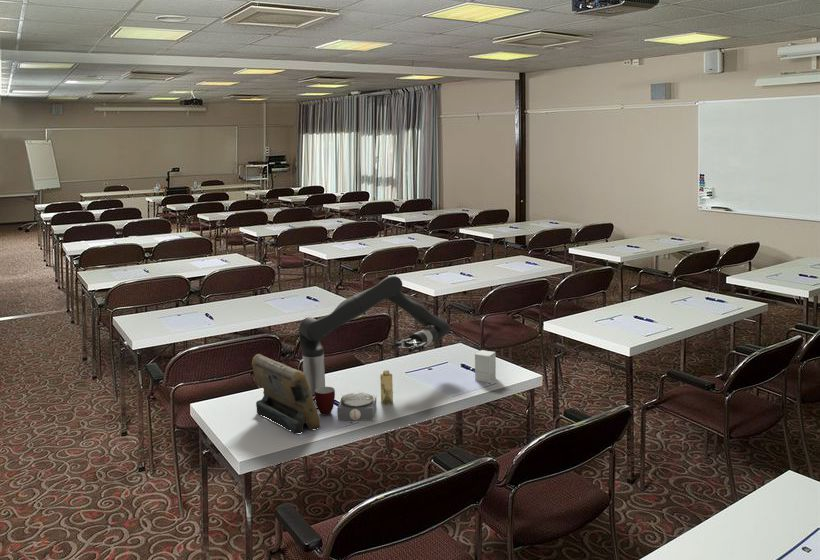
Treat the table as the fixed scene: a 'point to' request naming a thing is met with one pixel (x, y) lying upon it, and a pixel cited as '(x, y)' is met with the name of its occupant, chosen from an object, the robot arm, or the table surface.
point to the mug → (324, 399)
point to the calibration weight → (386, 388)
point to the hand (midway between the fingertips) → (400, 349)
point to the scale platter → (357, 399)
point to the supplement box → (485, 366)
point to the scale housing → (357, 411)
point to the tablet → (284, 395)
